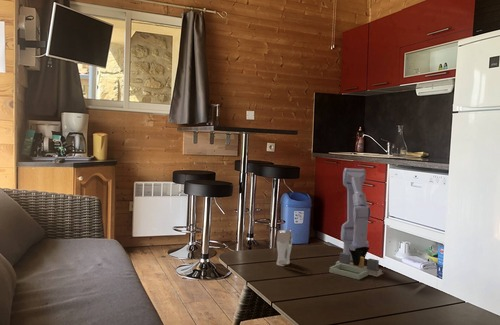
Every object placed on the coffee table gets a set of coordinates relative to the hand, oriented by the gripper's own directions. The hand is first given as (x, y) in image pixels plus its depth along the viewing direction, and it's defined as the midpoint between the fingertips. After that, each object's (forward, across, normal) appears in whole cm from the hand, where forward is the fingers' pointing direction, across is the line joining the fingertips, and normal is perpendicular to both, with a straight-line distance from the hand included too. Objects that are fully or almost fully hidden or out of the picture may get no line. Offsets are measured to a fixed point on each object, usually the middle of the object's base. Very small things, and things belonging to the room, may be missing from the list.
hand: (358, 264), depth 180 cm
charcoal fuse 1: (+2, 0, +6) cm, 7 cm away
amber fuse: (+2, 0, 0) cm, 2 cm away
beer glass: (+3, -16, +28) cm, 33 cm away
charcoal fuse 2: (+2, 0, -6) cm, 7 cm away
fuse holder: (+3, 0, 0) cm, 3 cm away
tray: (+3, -9, 0) cm, 10 cm away
